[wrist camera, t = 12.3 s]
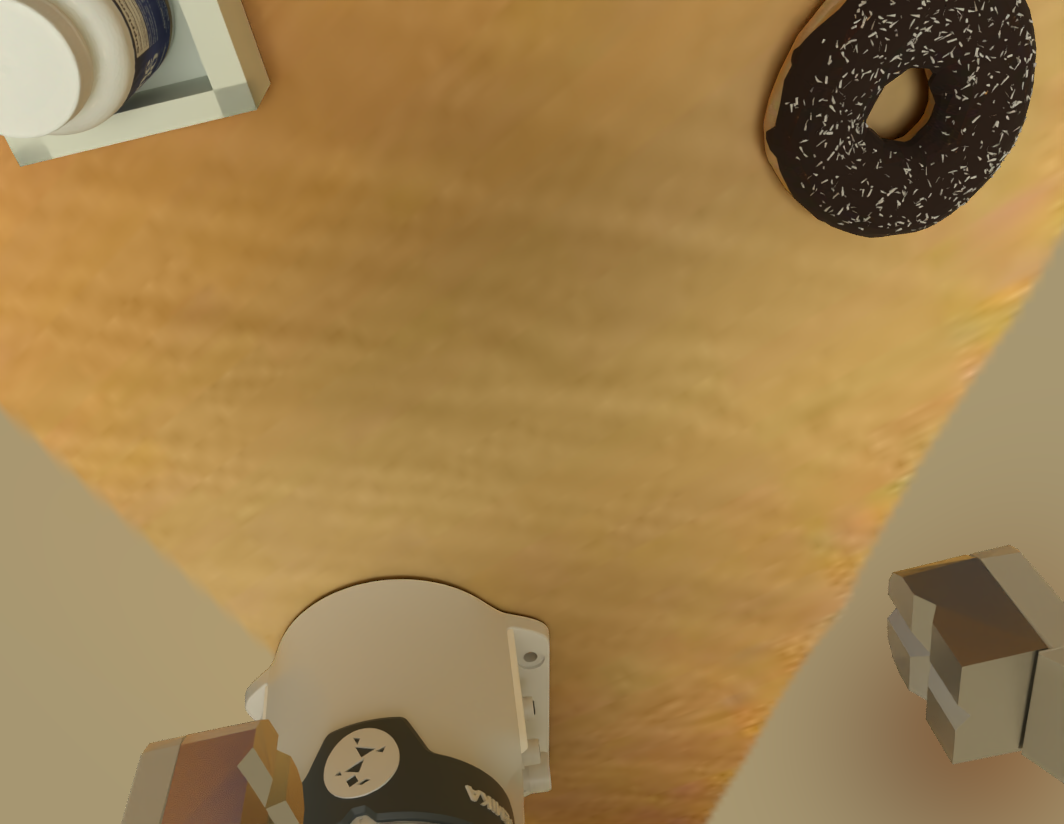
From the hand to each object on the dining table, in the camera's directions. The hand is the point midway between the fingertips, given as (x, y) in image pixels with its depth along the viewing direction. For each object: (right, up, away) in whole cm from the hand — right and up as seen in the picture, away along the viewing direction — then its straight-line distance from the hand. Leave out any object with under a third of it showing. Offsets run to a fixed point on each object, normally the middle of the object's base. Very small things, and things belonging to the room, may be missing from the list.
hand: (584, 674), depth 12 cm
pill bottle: (-17, +19, +22) cm, 33 cm away
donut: (+15, +18, +28) cm, 37 cm away
